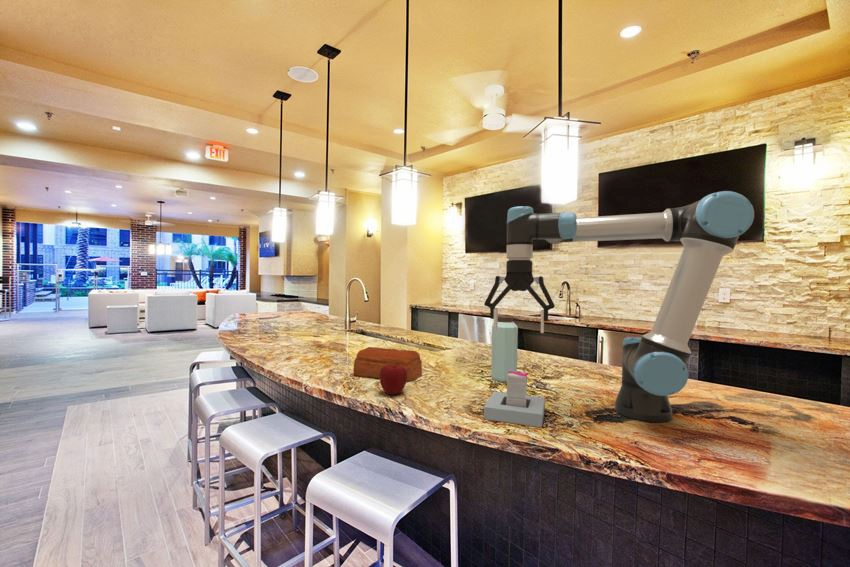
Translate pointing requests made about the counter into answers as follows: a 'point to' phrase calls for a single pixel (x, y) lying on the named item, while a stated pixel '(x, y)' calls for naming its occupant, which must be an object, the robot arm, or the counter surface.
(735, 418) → the counter surface
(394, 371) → the apple
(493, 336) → the water bottle
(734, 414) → the counter surface
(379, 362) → the bread
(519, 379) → the supplement box
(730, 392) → the counter surface
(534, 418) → the socket block
